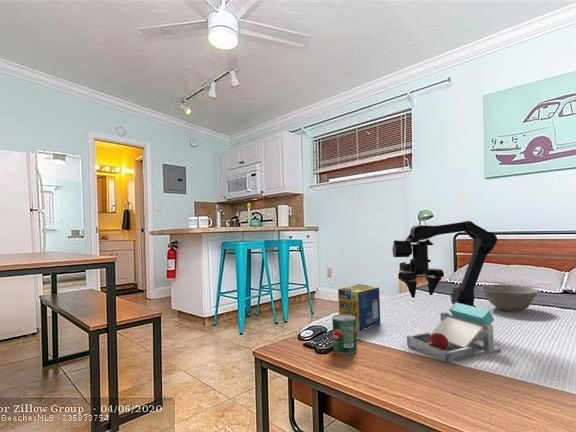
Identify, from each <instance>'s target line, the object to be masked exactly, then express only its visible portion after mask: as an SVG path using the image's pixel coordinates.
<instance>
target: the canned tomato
mask: <svg viewBox="0 0 576 432" xmlns="http://www.w3.org/2000/svg"><path fill="white" fill-rule="evenodd" d="M331 319H332V340H333V341H332V342H333V343H332V347H333V349H332V350H333V352H335V353H336V354H340V355H341V354H342V355H351V354H352V355H353V354H355V353H356V352H357V350H358V349H357V348H358V346H357V331H356V317H355V316H353V315H348V314H339V313H338V314H334V315H333V316H332V318H331Z"/></svg>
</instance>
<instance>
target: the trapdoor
mask: <svg viewBox="0 0 576 432" xmlns="http://www.w3.org/2000/svg"><path fill="white" fill-rule="evenodd" d="M450 313H451V314H450ZM494 321H495V319H494V316H493V315H492V313H491V311H490V309H485V308H482V307H477V306H476V307H473V306H469V305H464V304H460V303H455V304H454V305H453V304H452V306H451V307H450V308H449V314H447V317H446V318H445V319H444V320H443V321H442V322H441V321H440V323H439V324H438V325H437V326H436V327H435V328H434V329H433V330H432V331H431V332H430V334H429V335H430V336H431V335H432V334H434V333H440V334H443V335H444V336H445V337H446V338H447V339H448V344H450V345H451V344H452V345H453V346H457V347H459V348H465V347H469V346H470V345H469V344H470V343H471V342H472V341H473V339H475V338H476V337H477V336H478V335H479V334H480V332H482V331H483V327H482V325H483V324H491V325H492V324H493V322H494Z"/></svg>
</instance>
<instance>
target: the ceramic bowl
mask: <svg viewBox="0 0 576 432" xmlns="http://www.w3.org/2000/svg"><path fill="white" fill-rule="evenodd" d="M480 289H481V291H482V292H483V293H484V296H485V298H486V300H487V301H488V302H489V303H490V304H491V305H493V307H495V308H496V309H498V310H500V311H502V312H508V313H512V312H515V313H517V312H522V311H525V310H526V309H528V308H529V307H530V306H531V303H532V302H533V300H534V299H535V298H536V296H537V295H538V294H539V293H540V290H539V289H537V288H535V287H530V286H524V285H516V284H515V285H513V284H486V285H482V286H480Z"/></svg>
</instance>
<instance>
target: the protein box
mask: <svg viewBox="0 0 576 432" xmlns="http://www.w3.org/2000/svg"><path fill="white" fill-rule="evenodd" d="M337 292H338V293H337V294H338V296H337V297H338V315H339V314H348V315H353V316H355V317H356V332H361V330H362V331H364V330H366V329H365V328H367V329H369V328H371V327H370V326H372V327H374V326H373V325H375V324H377V325H379V324H378V323H380V324H381V302H380V299H381V298H380V287H379V286H378V287H377V286H374V285H366V284H356V285H351V286H348V287H343V288H338V290H337ZM375 326H376V325H375ZM368 327H369V328H368ZM363 329H364V330H363Z"/></svg>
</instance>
